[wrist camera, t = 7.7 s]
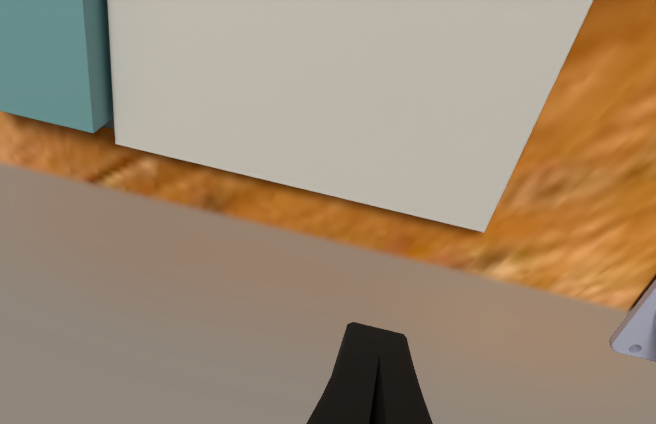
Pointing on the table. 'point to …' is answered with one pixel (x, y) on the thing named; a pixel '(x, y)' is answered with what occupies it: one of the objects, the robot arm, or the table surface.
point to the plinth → (344, 92)
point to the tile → (56, 62)
